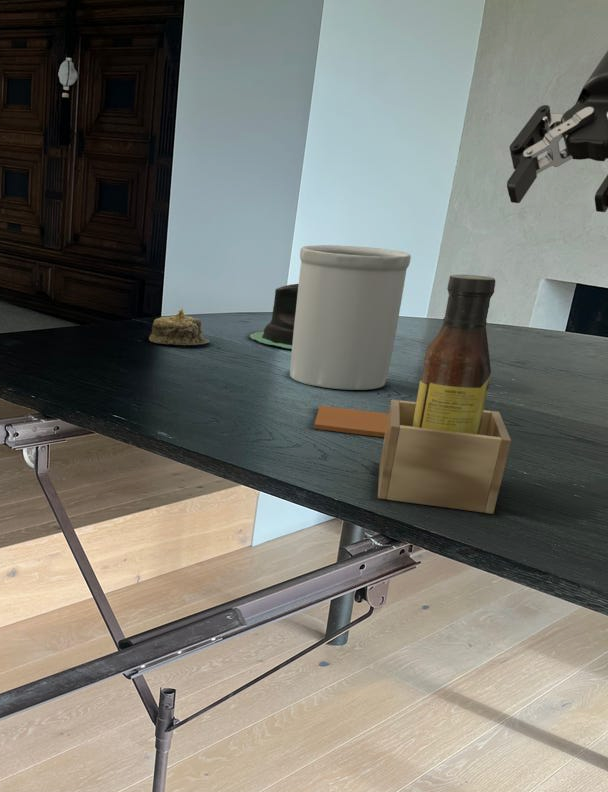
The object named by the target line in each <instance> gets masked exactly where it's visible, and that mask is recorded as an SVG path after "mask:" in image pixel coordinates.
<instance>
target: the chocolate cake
mask: <svg viewBox="0 0 608 792" xmlns="http://www.w3.org/2000/svg"><path fill="white" fill-rule="evenodd" d="M298 285H299V283H292V284H287V285H283V286H280V287H277V288H275V292H274V301H273V307H272V308H273V309H272V316H271V320H270V322H269V323H268V324H266V325H265V327H264V329H263V331H259V332H258V331H257V332H254V333H250V335H249V338H251V339H252V340H255V341H257V342H258V343H262V344H265V345H270V346H271V345H272V346H276V347H281V348H284V349H289V350H290V349H291V350H292V344H293V333H294V323H295V314H296V305H297V295H298Z"/></svg>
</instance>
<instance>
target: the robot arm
mask: <svg viewBox="0 0 608 792" xmlns="http://www.w3.org/2000/svg"><path fill="white" fill-rule="evenodd" d="M561 139H563V141H564V146H565V148H564V149H562V150H560V145H559V143H560V141H561ZM509 153H510V157H511V162H512V166H513V167H512V168H513V169H514V171H513V172H512V174H511V175H510V177H509V178H508V179H507V183H506V189H507V193H508V197H509V200H510V203H514V204H520V203H521V202H522V200H523V199H524V198H525V195H526V194H527V193H528V191H529V189H530V188H531V187H532V185H533V184H534V182H535V181H536V179H537V178H538V174H540V173H542V172H543V171H545V170H547V169H548V168H550V167H554V168H558V167H560V166H562V165H564V164H565V163H568V162H569V161H571V160H577V161H581V160H592V161H595V162H605V161H606V160H608V50H606V52H605V54H604V55H603V57H602V58H601V60H600V61H599V62H598V64H597V66H596V67H595V69H594V70H593V72H592V73H591V74H590V75H589V77H588V79H587V80H586V81H585V83H584V85H583V87H582V89H581V90H580V93H579V95H578V98H577V100H576V102H575V104H574V105H573V106H572V107H570V108H569V109H568V110H566V111H565V112H564V113H555V112H551V109H550V105H548V104H544V105H541V106H539V107H538V108H537V109H536V110H535V112H534V113H533V114H532V116H531V117H530V119H528V121H527V122H526V123H525V125H524V126H523V128H521V130H520V132H518V134H517V135H516V137H515V139H513V141H512V143H511V144H510V145H509ZM544 153H546V154H545V155H544V156H543V157H541V158H539V156H540V155H542V154H544ZM594 207H595V211H596V212H599V213H606V212H607V211H608V174H607V175H606V177H604V180H603V181H602V182H601V184H600V186H599V187H598V189H597V190H596V192H595V195H594Z"/></svg>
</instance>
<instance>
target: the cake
mask: <svg viewBox="0 0 608 792" xmlns="http://www.w3.org/2000/svg"><path fill="white" fill-rule="evenodd" d="M151 330H152V331H151V334H149V337H148V340H149V342H151V343H155V344H163V345H176V346H197V345H204V344H208V343H211V340H209V339H208V338H207V339H206V338H204V337H203V335H202V333H203V330H202V321H201V319H199V318H197V317H196V318H195V317H193V316H187V315H185V314H184V309H183V308H181V309H180V310H178V313H177V314H175V315H170V316H161V317H158V318H156V319H154V320H153V322H152V327H151Z"/></svg>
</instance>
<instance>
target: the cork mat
mask: <svg viewBox="0 0 608 792" xmlns="http://www.w3.org/2000/svg"><path fill="white" fill-rule="evenodd" d="M388 415H389V413H386V412H378V411H369V410H362V409H352V408H345V407H344V408H343V407H336V406H327V405H319V407H318V411H317V414H316V417H315V418H316V419H315V421H314V425H313V429H315V430H320V431H328V432H336V433H343V434H344V433H345V434H352V435H360V436H368V437H377V438H384V437H385V431H386V426H387V421H388Z"/></svg>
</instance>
